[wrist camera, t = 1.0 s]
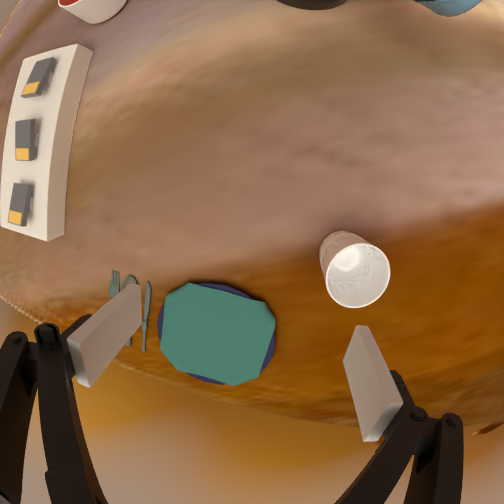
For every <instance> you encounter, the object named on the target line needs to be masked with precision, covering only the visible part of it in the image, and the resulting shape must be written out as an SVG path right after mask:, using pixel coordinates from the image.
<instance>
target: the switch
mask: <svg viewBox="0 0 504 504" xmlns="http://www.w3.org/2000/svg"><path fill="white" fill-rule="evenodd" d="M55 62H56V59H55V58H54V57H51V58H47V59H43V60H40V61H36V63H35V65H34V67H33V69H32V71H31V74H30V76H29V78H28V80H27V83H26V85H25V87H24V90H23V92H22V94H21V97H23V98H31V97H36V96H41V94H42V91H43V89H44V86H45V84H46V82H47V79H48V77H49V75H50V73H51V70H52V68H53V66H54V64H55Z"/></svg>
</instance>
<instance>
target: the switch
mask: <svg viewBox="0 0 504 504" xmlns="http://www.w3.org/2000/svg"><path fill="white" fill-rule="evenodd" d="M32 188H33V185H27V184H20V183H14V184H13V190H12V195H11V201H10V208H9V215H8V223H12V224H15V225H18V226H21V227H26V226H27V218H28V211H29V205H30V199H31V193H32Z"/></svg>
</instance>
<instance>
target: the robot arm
mask: <svg viewBox="0 0 504 504" xmlns="http://www.w3.org/2000/svg"><path fill="white" fill-rule="evenodd" d="M278 1H280V2H282V3H284V4H287V5H289V6H293V7H297V8H301V9H309V10H323V9H329V8H333V7H337V6H339V5H341V4H343V3H344V2H345V1H347V0H278ZM414 1H415V2H417V3H420V4H422V5H424V6H425V7H427V8H429V9H430V10H432V11H433V12H435V13H436V14H438V15H442V16H446V17H452V16H457V15H460V14H462V13H465V12H467V11H468V10H470V9H472V8H473V7H475V6H476V5H477V4H479V3H480V2H481V1H482V0H414ZM141 324H142V316H141V286H140V285H136V284H132V283H130V284H129V285H127V286H126V287H125V288H124V289H123V290H122V291H120V292H119V293H118V294H117V295H116V296H114V297H113V298H112V299H111V300H110V301H109V302H107V303H106V304H105V305H104V306H103V307H102V308H100V309H99V310H98V311H97V312H96V313H95V314H94V315H90V314H87V315H85V316H82V317H80V318H79V319H78V320H77V321H75V323H73V324H72V325H71V327H68V328H67V329H66V330H65V331H64V332H63V333H62V334H60V333H59V329H58V326H56V325H55V324H52V323H44V324H40V325H38V326H37V327H36V328H35V330H34V334H35V337H36V341H37V343H34V342H29V341H28V338H27V336H26V334H25V333H24V332H20V331H16V332H12V333H10V334H9V335H8V336H7V337H6V339H5V341H4V343H3V345H2V347H1V349H0V504H20V502H21V494H22V478H23V466H24V457H25V449H26V441H27V435H28V430H29V424H30V419H31V414H32V409H33V404H34V400H35V396H36V392H37V388H38V398H39V412H40V423H41V431H42V438H43V444H44V451H45V457H46V462H47V467H48V471H47V472H45V480H46V484H47V488H48V492H49V496H50V499H51V503H52V504H108V502H107V500H106V499H105V497H104V494H103V492H102V489H101V487H100V485H99V482H98V479H97V476H96V473H95V470H94V468H93V464H92V461H91V458H90V455H89V452H88V448H87V445H86V441H85V438H84V434H83V430H82V426H81V422H80V418H79V413H78V408H77V404H76V399H75V393H74V388H73V382H72V377H73V376H74V375H76V378H77V381H78V383H80V384H82V385H85V386H86V387H89V388H90V387H91V386H92V385H93V384H94V382H95V381H96V380H97V378H98V377H99V376H100V375H101V373H102V372H103V371H104V370H105V368H106V367H107V366H108V365H109V363H110V362H111V361H112V360H113V358H114V357H115V356H116V355H117V353H118V352H119V351H120V350H121V348H122V347H123V346H124V345H125V343H126V342H127V341H128V340H129V339H130V337H131V336H132V335H133V334H134V333H135V331H136V330H137V329H138V328H139V326H140V325H141ZM343 364H344V367H345V371H346V374H347V378H348V382H349V386H350V389H351V393H352V397H353V401H354V405H355V409H356V413H357V417H358V421H359V425H360V429H361V433H362V437H363V441H378V439H379V438H380V437H381V435H382V434H383V435H384V439H385V440H384V441H383V442H382V444H381V445H380V446H379V447H378V449H377V450H376V451H375V454H374V455H373V457H372V458H371V460H370V461H369V462H368V464H367V465H366V466H365V467H364V469H363V470H362V471H361V473H360V474H359V475H358V477H357V478H356V479H355V480H354V482H353V483H352V484H351V485H350V487H349V488H348V489H347V490H346V491H345V492H344V493H343V495H342V496H341V497H340V498H339V499H338V500H337V501H336V502H335V504H384V503H385V501H386V499H387V498H388V496H389V495H390V493H391V492H392V490H393V488H394V487H395V485H396V484H397V482H398V480H399V479H400V477H401V475H402V473H403V471H404V470H405V468H406V466H407V464H408V462H409V461H410V458H411V456H412V455H415V456H414V461H413V466H412V472H411V476H410V480H409V484H408V489H407V492H406V496H405V500H404V504H460V500H461V491H462V479H463V453H464V451H463V450H464V444H463V423H462V420H461V418H460V417H459V416H458V415H456V414H454V413H445V414H444V415H443V416H442V418H441V419H435V418H430V417H428V414H427V412H426V411H425V410H424V409H422V408H420V407H417V406H415V404H414V402H413V400H412V398H411V396H410V393H409V391H408V389H407V387H406V385H405V384H404V381H403V379H402V377H401V376H400V375H399V374H398V373H397V372H396V371H395V370H389V369H388V367H387V365H386V363H385V361H384V358H383V356H382V354H381V352H380V350H379V348H378V346H377V344H376V342H375V340H374V338H373V336H372V334H371V332H370V330H369V328H368V326H361V325H356V328H355V331H354V333H353V336H352V339H351V341H350V344H349V346H348V349H347V352H346V354H345V357H344V359H343Z"/></svg>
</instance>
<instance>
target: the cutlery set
mask: <svg viewBox="0 0 504 504" xmlns="http://www.w3.org/2000/svg"><path fill="white" fill-rule="evenodd" d="M129 281H133V282H135V284H136V285H137V283H136V281H135V279H134V277H131V276H128V277H127V278H126V279H125V280H124V284H123V288H122V290H123V289H124V288H125V287H126V284H127V283H128V282H129ZM118 293H119V272H118V276H117V279H116V271H115V276H114V270H112V277H111V285H110V292H109V296H110V297H111V299H112V298H113V297H114V296H116V295H117V294H118ZM150 299H151V285H150V283H149V281H147V285H146V296H145V309H144V318H143V319H142V321H143V324H142V329H143V349H142V351H144V352H145V351H146V350H145V338H146V330H147V327H148V325H147V322H148V321H149V320H148V319H147V318H148V314H149V309H150ZM275 323H276V321H275V317H274V316H273V314H272V313H271V312H270V310H269V309H268V307H267V305H266V303H265V302H261V301H255V300H253V299H252V298H251V297H249V296H248V295H247V294H246V293H244V292H242V291H239V290H237V289H235V288H232V287H230V286H227V285H223V284H215V283H207V282H205V283H200V284H192V283H189V282H188V283H187V284H185V285H183V286H182V287H180V288H178V289H177V290H174V291H173V292H171V293H169V294H168V295H167V296H166V299H165V304H164V305H163V306H162V307H161V311H160V314H159V318H158V321H157V324H158V336H159V339H160V342H161V345H160V349H161V351H162V352H163V354H164V355H165V356H166V357H167V359H168V360H169V361H170V362H171V363H172V365H173V366H174V367H175V368H176V369H177V370H180V371H183V372H186V373H187V374H188V375H190V376H192V377H195V378H197V379H199V380H202V381H204V382H209V383H215V384H221V385H224V384H229V385H234V386H235V385H239V384H242V383H244V382H247V381H249V380H252V379H254V378H257V377H258V376H259V373H260V372H261V371H262V370H263V369H265V368H266V366H267V365H268V363H269V361H270V359H271V358H272V356H273V353H274V346H275V335H274V329H275ZM126 346H129V347H130V346H131V337H130V339H129V340H128V341H127V342H126Z"/></svg>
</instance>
